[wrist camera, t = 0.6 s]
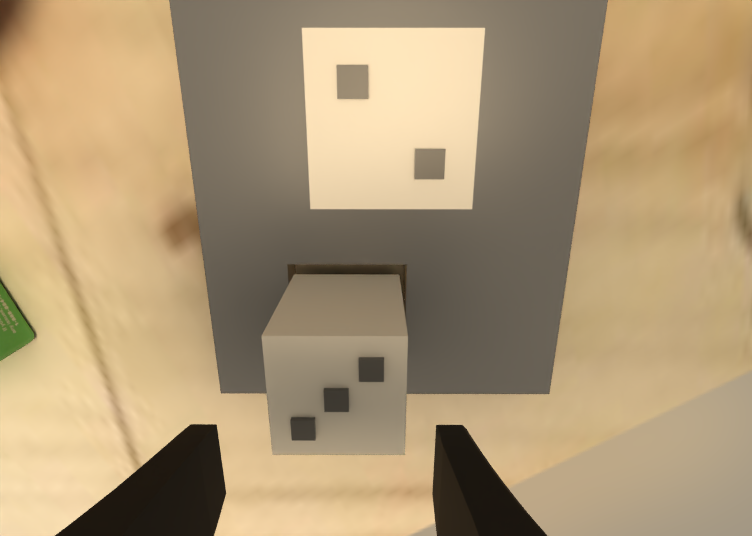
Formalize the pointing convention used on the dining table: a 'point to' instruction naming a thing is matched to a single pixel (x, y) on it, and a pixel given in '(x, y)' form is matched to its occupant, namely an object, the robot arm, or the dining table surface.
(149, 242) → the dining table surface
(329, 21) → the keypad board
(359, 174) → the key two
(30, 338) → the ink box
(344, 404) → the key three
